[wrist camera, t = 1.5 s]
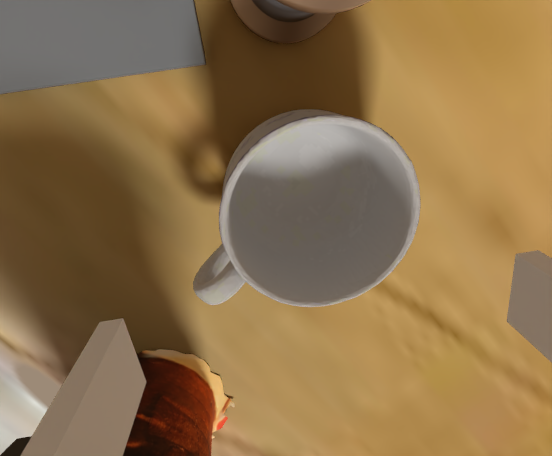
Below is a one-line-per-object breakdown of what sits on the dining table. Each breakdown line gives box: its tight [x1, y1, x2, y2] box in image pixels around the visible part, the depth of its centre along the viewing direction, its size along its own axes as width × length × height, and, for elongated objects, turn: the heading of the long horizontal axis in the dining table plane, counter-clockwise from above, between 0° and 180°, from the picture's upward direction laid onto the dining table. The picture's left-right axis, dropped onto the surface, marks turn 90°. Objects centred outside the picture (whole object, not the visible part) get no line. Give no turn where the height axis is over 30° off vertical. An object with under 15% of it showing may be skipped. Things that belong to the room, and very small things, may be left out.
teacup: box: [193, 109, 420, 307], centre depth 22 cm, size 14×11×8 cm
